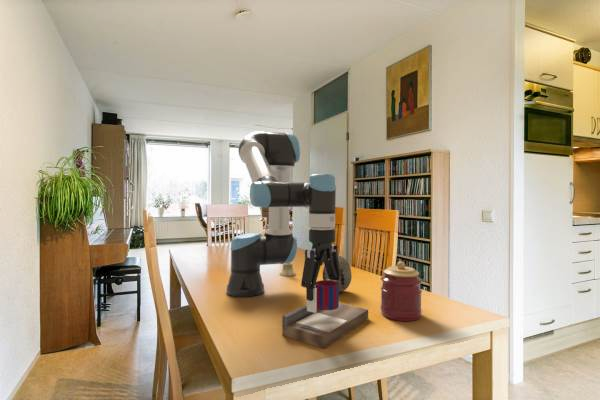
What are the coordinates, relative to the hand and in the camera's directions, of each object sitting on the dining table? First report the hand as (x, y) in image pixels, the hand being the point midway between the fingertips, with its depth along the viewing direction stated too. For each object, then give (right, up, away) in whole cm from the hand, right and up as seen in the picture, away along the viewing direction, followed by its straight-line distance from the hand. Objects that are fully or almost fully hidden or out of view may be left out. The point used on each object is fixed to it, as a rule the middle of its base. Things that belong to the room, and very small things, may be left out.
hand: (322, 306), depth 96 cm
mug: (0, 0, 0) cm, 0 cm away
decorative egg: (+9, -7, +41) cm, 42 cm away
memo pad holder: (+2, -8, +5) cm, 9 cm away
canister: (+27, -8, +15) cm, 32 cm away
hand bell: (-12, -7, +71) cm, 73 cm away
